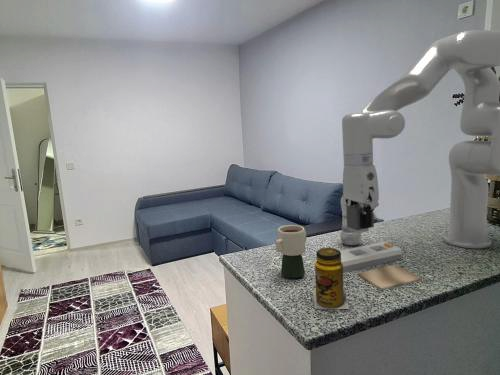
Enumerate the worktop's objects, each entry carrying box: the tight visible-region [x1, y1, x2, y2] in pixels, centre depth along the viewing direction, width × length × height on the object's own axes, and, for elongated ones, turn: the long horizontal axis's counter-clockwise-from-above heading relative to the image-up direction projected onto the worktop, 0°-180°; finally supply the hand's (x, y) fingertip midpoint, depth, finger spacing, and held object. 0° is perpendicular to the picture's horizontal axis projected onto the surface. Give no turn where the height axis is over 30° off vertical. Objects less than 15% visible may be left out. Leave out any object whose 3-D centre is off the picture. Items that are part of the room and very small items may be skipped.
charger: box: [346, 204, 375, 234], centre depth 91 cm, size 6×4×7 cm
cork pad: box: [357, 264, 422, 291], centre depth 83 cm, size 12×9×1 cm
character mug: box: [275, 224, 307, 279], centre depth 87 cm, size 11×7×13 cm, turn 128°
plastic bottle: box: [340, 195, 362, 246], centre depth 106 cm, size 6×7×20 cm
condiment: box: [312, 247, 350, 310], centre depth 74 cm, size 7×8×12 cm
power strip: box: [339, 241, 402, 273], centre depth 94 cm, size 20×7×4 cm, turn 109°
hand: (360, 224), depth 92 cm, fingers closed on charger, 4 cm apart
